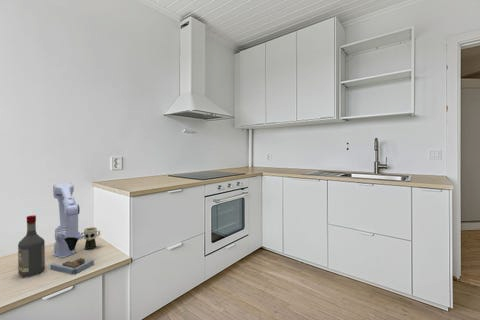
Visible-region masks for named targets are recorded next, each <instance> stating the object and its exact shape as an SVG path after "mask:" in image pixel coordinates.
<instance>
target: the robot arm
mask: <svg viewBox="0 0 480 320" xmlns="http://www.w3.org/2000/svg"><path fill="white" fill-rule="evenodd" d="M74 186H75V185H74V184H73V183H72V182H69V183H57V184H56V183H54V184H53V186H52V195H53V198H54V199H57V202H58V212H59V223H60V224H59V225H58V226H57V227H56V228H55V229H54V240H55V242H54V245H53V254H52V256H53V257H58V258H66V257H69V256H71V255H74V254H76V253H77V251H75V250H76V247H77V243H78V242H79V240H83V239H84V237H83V236H84V234H83V235H81V232H80V231H79V214H80V204H79V203H77V201H76V199H75V198H74V197H73V192H74V189H75V187H74Z"/></svg>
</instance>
